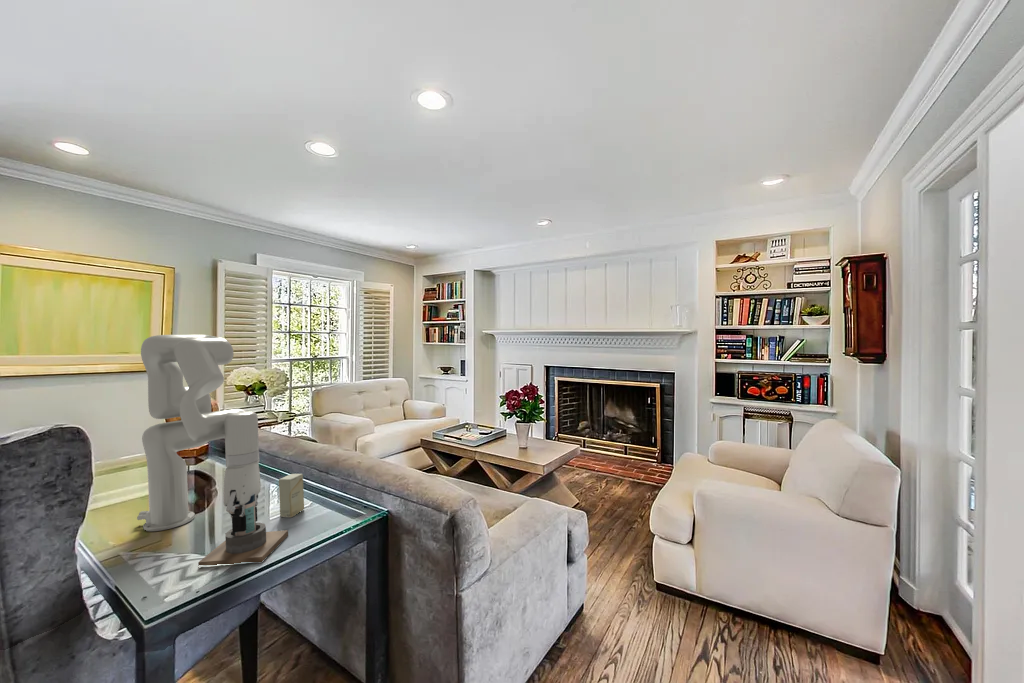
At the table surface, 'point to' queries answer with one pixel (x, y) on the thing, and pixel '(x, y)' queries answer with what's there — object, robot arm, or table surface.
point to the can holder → (245, 547)
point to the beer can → (249, 517)
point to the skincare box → (291, 495)
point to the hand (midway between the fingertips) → (245, 525)
